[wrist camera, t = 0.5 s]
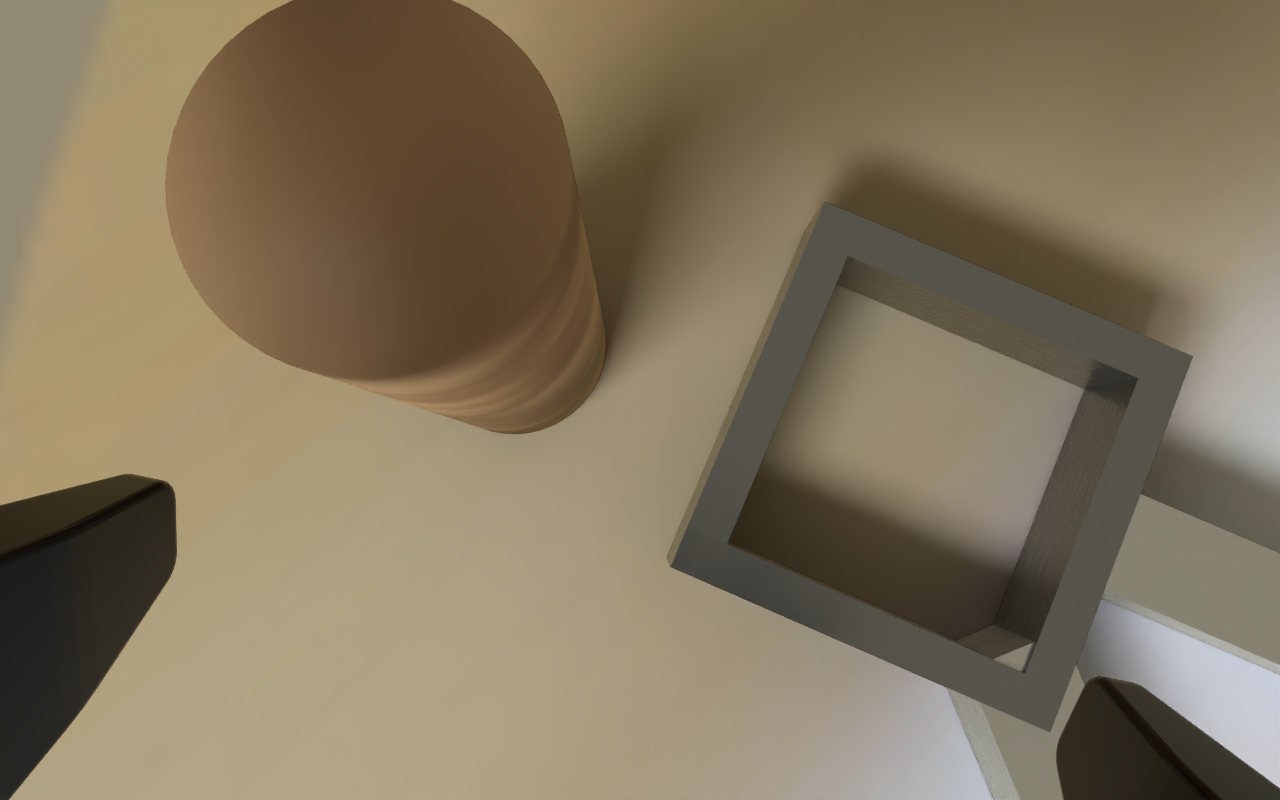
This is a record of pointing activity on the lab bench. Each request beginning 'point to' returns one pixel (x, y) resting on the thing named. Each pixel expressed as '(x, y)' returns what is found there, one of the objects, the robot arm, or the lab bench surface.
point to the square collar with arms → (1061, 532)
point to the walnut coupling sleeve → (391, 210)
